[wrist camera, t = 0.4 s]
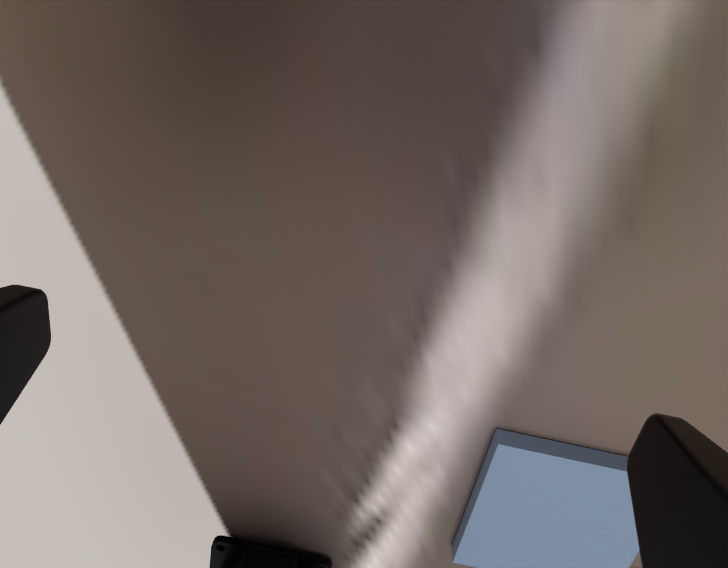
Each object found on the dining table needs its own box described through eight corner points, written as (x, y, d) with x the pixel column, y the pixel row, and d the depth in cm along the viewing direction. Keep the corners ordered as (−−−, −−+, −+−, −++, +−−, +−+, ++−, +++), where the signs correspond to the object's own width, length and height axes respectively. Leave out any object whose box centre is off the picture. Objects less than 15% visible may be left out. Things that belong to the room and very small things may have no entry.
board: (605, 578, 30) (610, 596, 29) (452, 545, 30) (452, 562, 29) (672, 466, 26) (679, 483, 26) (496, 428, 26) (498, 444, 26)
